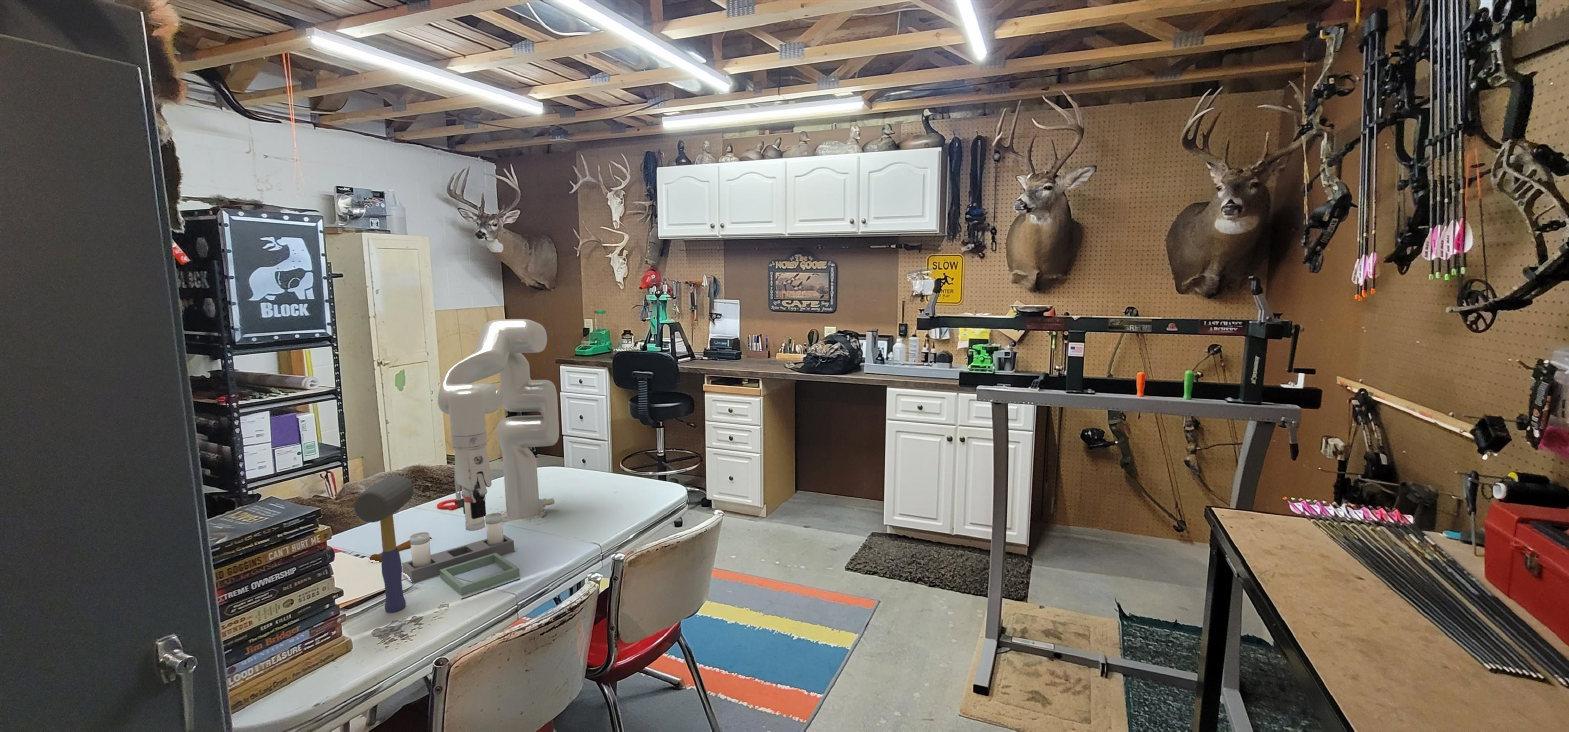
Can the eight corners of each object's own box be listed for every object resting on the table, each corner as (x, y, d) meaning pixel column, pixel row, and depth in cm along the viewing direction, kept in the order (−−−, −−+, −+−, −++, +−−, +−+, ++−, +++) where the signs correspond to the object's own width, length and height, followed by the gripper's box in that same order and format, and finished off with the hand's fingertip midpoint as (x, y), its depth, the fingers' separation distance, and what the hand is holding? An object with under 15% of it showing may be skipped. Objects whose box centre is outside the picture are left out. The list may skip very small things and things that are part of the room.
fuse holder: (503, 547, 179) (502, 533, 178) (514, 554, 174) (513, 540, 174) (403, 578, 161) (402, 562, 161) (412, 587, 157) (411, 571, 156)
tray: (496, 563, 169) (495, 552, 169) (520, 579, 160) (519, 567, 159) (440, 581, 159) (439, 569, 159) (462, 599, 150) (461, 587, 150)
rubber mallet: (392, 599, 150) (380, 473, 146) (426, 597, 151) (415, 472, 147) (362, 628, 138) (348, 491, 134) (399, 626, 139) (386, 489, 135)
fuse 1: (429, 568, 164) (425, 530, 163) (435, 573, 161) (431, 535, 160) (410, 574, 161) (407, 535, 160) (416, 579, 158) (412, 540, 157)
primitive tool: (416, 538, 188) (415, 527, 187) (434, 539, 187) (433, 527, 187) (367, 568, 169) (365, 555, 168) (386, 568, 168) (385, 555, 168)
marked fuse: (480, 523, 160) (478, 483, 159) (487, 527, 158) (485, 487, 156) (462, 527, 157) (460, 487, 156) (469, 532, 155) (466, 491, 153)
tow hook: (431, 508, 213) (449, 511, 208) (427, 469, 212) (444, 472, 207) (455, 500, 220) (472, 503, 216) (451, 463, 219) (468, 465, 214)
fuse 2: (500, 547, 177) (498, 511, 176) (507, 551, 174) (505, 515, 173) (485, 551, 174) (482, 515, 173) (491, 556, 171) (489, 519, 170)
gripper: (500, 443, 152) (505, 519, 154) (471, 432, 163) (476, 503, 166) (466, 449, 146) (472, 527, 149) (439, 438, 158) (445, 511, 160)
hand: (474, 514), depth 157 cm, fingers closed on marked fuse, 4 cm apart
